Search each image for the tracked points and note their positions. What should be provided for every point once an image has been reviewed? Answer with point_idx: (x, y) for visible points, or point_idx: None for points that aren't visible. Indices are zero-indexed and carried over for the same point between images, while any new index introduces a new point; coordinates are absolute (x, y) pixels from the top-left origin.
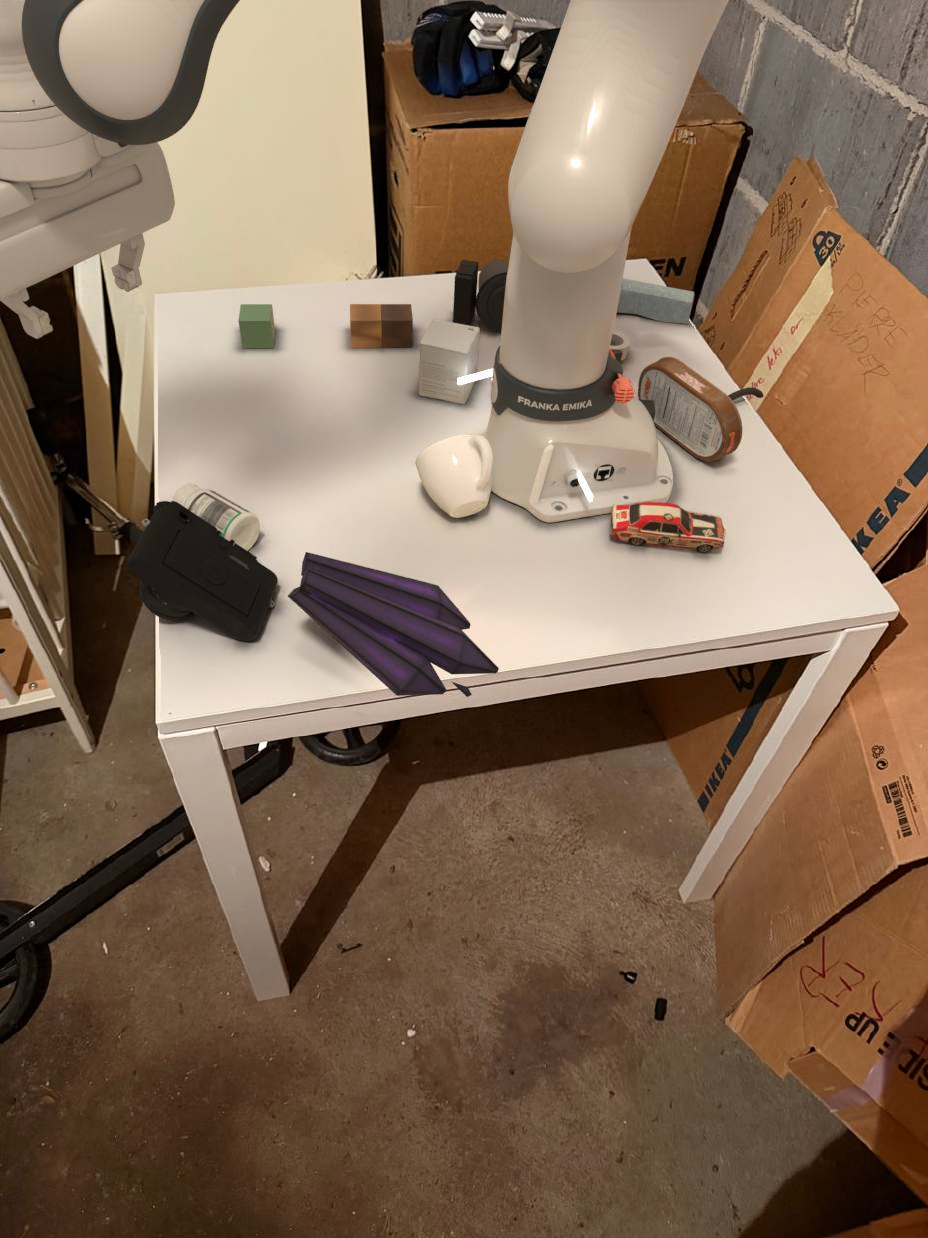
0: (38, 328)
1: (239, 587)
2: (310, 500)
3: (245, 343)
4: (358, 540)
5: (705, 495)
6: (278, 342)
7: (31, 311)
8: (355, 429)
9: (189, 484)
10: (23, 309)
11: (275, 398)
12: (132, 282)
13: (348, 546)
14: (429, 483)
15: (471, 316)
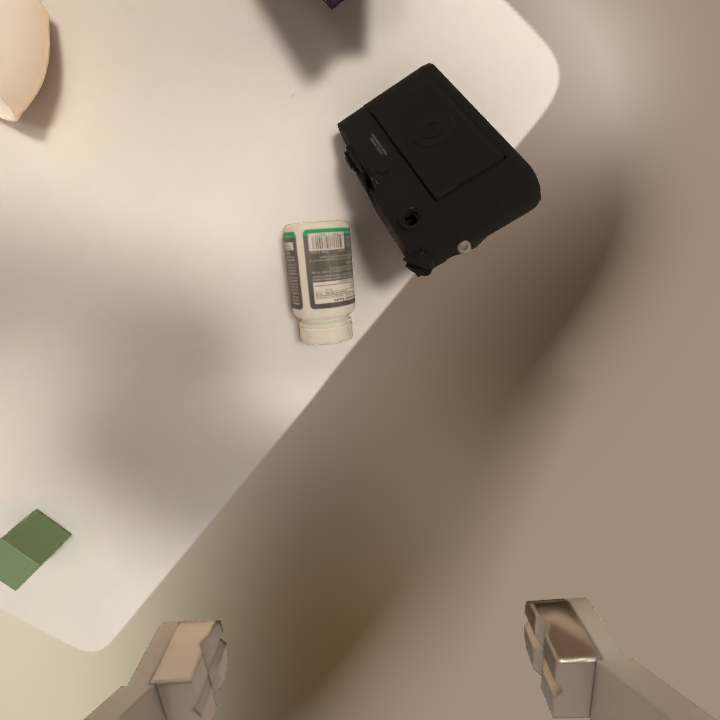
0: (595, 622)
1: (410, 106)
2: (191, 238)
3: (62, 536)
4: (193, 119)
5: None
6: (24, 514)
7: (642, 692)
8: (47, 303)
9: (312, 342)
10: (692, 714)
11: (98, 430)
12: (188, 640)
13: (212, 121)
14: (25, 44)
15: None
